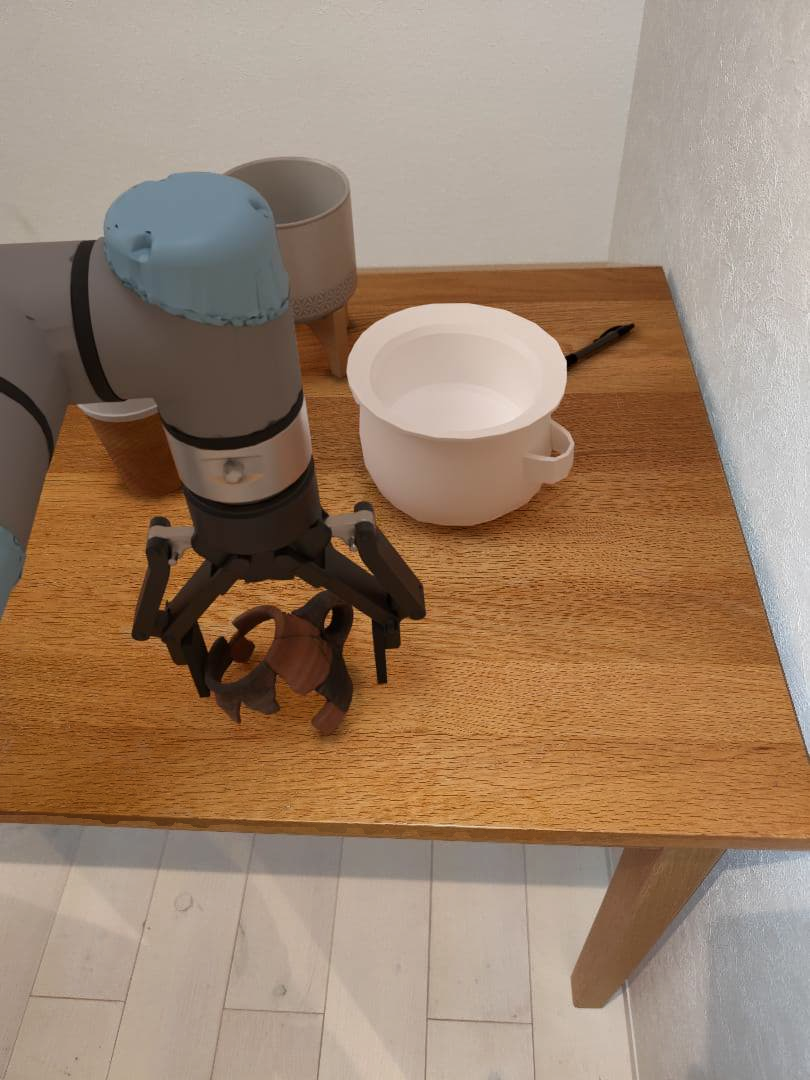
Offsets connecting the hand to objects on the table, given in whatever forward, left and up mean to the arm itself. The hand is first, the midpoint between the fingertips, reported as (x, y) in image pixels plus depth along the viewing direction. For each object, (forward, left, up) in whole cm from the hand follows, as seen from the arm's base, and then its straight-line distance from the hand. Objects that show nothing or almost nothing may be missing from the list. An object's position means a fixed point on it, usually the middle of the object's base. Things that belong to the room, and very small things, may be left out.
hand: (294, 675), depth 66 cm
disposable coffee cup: (-13, +24, -1) cm, 27 cm away
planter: (0, +41, -1) cm, 41 cm away
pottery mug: (0, 0, -1) cm, 1 cm away
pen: (+29, +37, -1) cm, 47 cm away
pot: (+14, +21, -1) cm, 25 cm away
